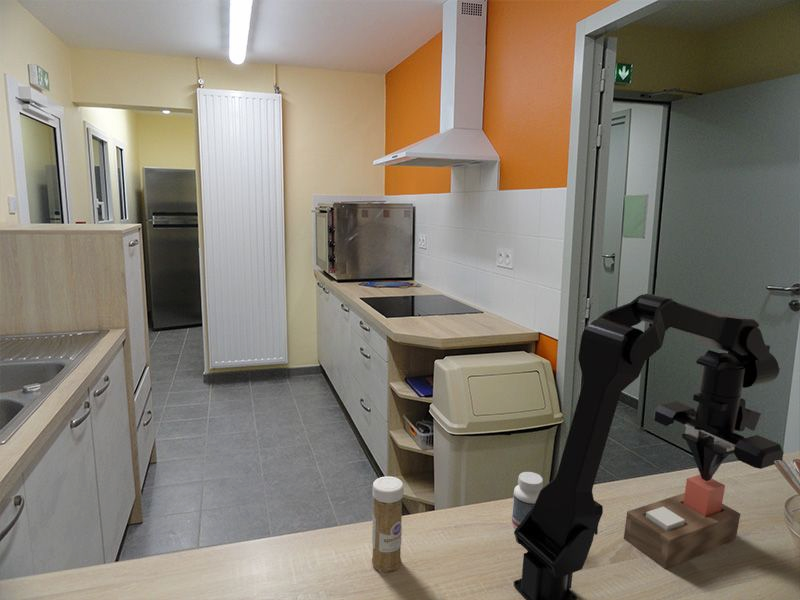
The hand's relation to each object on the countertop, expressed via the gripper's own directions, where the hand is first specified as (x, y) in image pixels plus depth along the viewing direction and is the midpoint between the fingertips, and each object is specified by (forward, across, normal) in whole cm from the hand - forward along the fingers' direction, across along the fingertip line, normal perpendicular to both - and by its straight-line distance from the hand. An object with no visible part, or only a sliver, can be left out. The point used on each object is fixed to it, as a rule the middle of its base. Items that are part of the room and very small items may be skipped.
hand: (706, 479), depth 91 cm
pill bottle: (+10, +14, +26) cm, 31 cm away
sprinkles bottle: (+10, +14, +52) cm, 54 cm away
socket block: (+10, 0, +4) cm, 11 cm away
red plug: (+5, 0, 0) cm, 5 cm away
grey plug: (+9, 0, +9) cm, 13 cm away
